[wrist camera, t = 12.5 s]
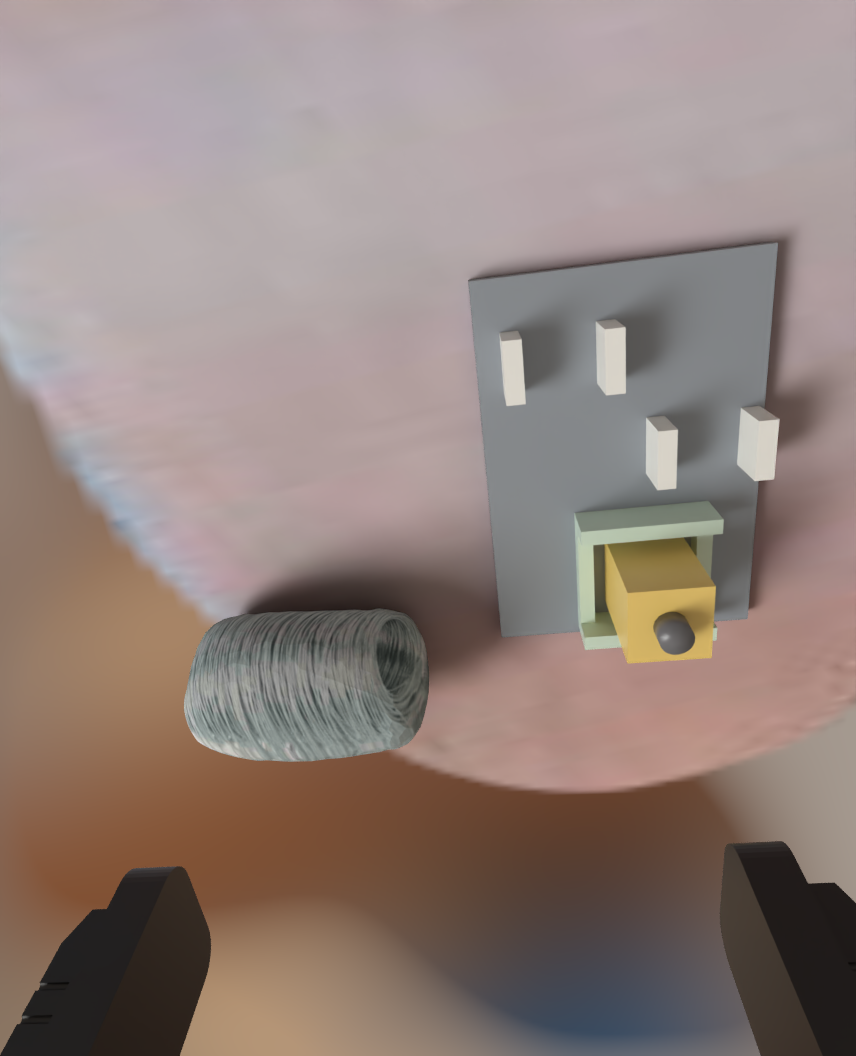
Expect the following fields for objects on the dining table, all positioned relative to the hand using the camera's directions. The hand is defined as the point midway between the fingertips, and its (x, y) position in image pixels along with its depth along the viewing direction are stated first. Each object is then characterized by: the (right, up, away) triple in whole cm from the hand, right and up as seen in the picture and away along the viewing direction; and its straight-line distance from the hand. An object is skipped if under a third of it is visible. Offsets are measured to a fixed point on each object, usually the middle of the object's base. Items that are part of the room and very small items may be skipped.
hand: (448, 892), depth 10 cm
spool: (-7, -2, +32) cm, 33 cm away
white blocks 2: (+14, +10, +25) cm, 30 cm away
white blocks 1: (+6, +14, +23) cm, 28 cm away
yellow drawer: (+12, +3, +28) cm, 30 cm away
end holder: (+12, +3, +28) cm, 30 cm away
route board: (+10, +9, +26) cm, 29 cm away
